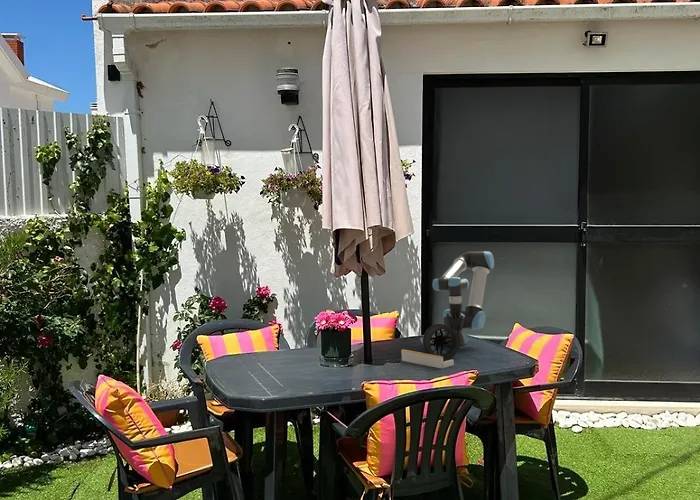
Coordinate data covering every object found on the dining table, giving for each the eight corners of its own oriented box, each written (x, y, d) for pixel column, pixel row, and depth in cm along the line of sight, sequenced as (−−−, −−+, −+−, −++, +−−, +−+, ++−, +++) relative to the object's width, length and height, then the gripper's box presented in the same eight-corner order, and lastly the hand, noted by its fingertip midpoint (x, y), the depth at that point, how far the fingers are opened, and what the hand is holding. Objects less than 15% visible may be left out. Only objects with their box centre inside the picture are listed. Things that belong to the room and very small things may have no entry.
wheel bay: (413, 357, 389) (413, 346, 389) (453, 365, 366) (453, 353, 366) (401, 360, 383) (401, 349, 382) (442, 368, 359) (441, 356, 359)
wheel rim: (454, 355, 390) (453, 322, 389) (460, 358, 381) (459, 324, 380) (423, 358, 385) (421, 325, 384) (428, 362, 376) (427, 328, 375)
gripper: (443, 302, 393) (444, 341, 394) (460, 304, 383) (461, 343, 384) (451, 301, 398) (452, 339, 399) (467, 303, 388) (469, 341, 389)
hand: (456, 341), depth 392 cm, fingers closed
